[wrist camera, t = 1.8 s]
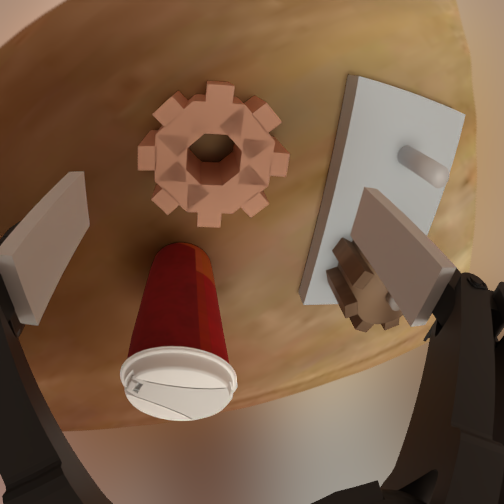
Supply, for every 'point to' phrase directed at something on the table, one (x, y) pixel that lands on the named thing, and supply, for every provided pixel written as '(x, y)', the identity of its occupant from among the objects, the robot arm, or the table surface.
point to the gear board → (380, 167)
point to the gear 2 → (361, 289)
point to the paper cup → (179, 341)
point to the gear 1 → (213, 173)
